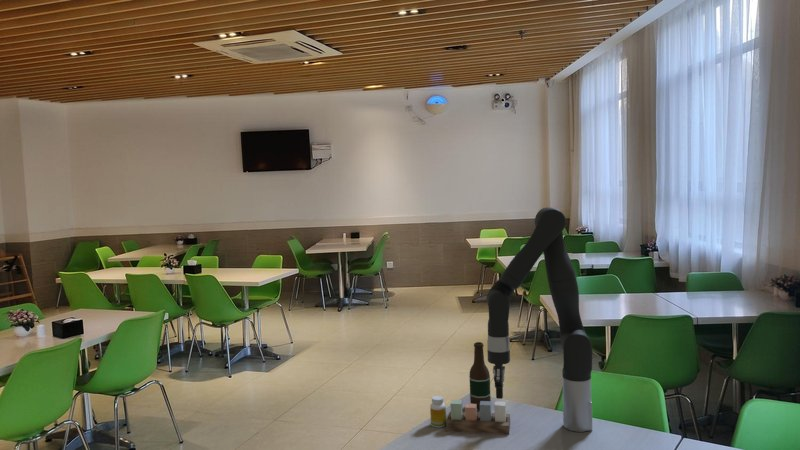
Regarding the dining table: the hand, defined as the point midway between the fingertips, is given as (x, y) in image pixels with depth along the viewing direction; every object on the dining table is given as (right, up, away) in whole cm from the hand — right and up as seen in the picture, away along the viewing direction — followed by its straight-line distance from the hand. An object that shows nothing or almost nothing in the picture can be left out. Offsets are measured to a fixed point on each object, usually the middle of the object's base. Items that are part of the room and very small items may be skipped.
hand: (499, 397), depth 208 cm
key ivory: (0, -8, +1) cm, 8 cm away
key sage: (-14, -8, +4) cm, 17 cm away
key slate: (-4, -8, +2) cm, 9 cm away
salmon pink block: (-9, -9, +3) cm, 13 cm away
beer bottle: (-4, -9, +21) cm, 23 cm away
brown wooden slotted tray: (-7, -11, +2) cm, 13 cm away
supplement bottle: (-20, -11, +6) cm, 24 cm away
